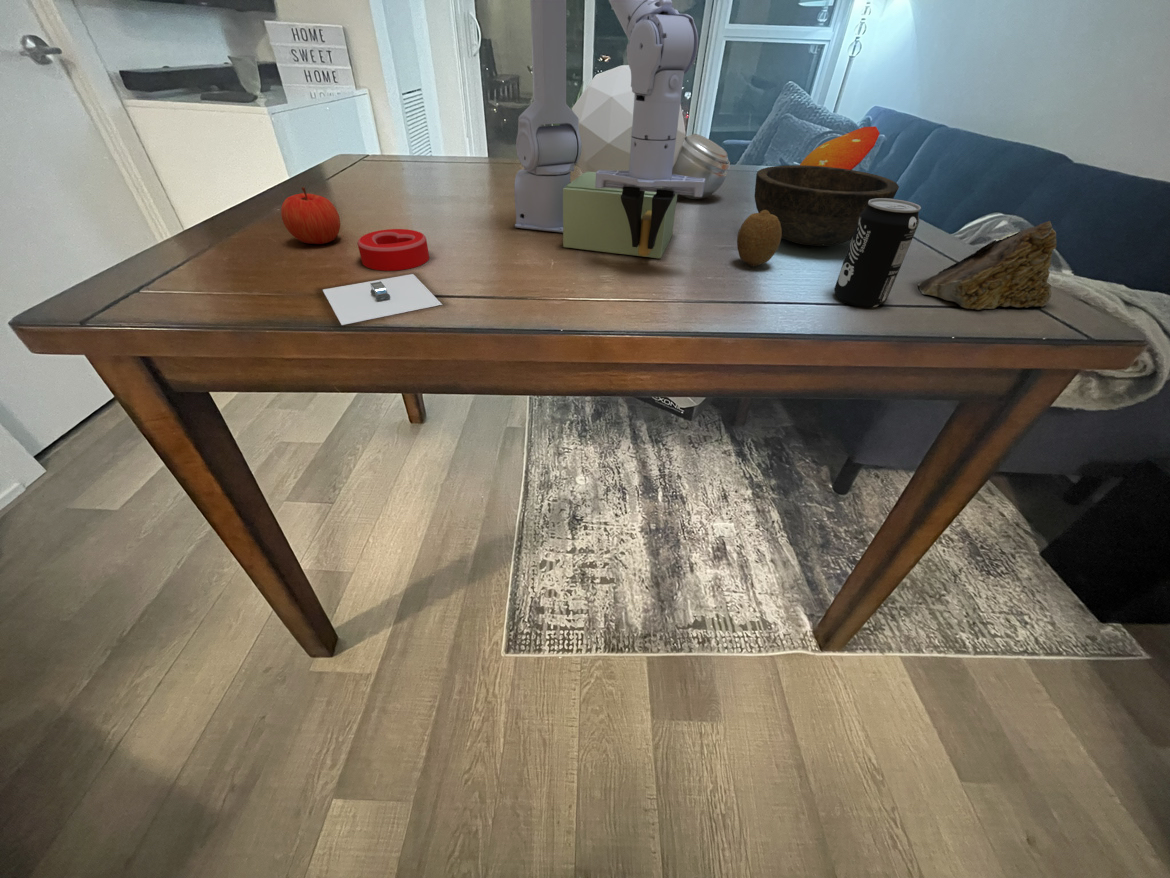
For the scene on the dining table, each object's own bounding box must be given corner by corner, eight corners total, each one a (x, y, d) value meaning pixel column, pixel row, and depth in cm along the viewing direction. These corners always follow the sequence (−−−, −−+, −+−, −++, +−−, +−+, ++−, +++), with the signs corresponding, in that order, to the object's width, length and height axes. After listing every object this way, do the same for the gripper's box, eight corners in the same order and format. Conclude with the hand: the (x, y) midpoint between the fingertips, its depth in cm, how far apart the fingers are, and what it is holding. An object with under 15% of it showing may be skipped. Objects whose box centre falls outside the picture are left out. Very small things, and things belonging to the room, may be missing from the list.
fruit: (723, 261, 78) (734, 206, 73) (756, 256, 80) (768, 203, 75) (748, 274, 74) (762, 217, 69) (782, 269, 76) (797, 213, 71)
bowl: (874, 234, 92) (897, 173, 85) (874, 271, 76) (901, 201, 70) (754, 217, 99) (767, 160, 92) (731, 249, 83) (745, 182, 77)
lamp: (557, 152, 117) (598, 28, 100) (689, 214, 124) (746, 107, 108) (545, 187, 100) (591, 46, 84) (697, 255, 108) (767, 138, 92)
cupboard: (661, 257, 79) (669, 195, 73) (565, 245, 82) (565, 185, 77) (672, 235, 88) (679, 179, 83) (585, 226, 91) (586, 171, 86)
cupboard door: (654, 270, 74) (661, 207, 68) (552, 257, 77) (551, 196, 72) (661, 256, 79) (668, 196, 73) (564, 245, 82) (564, 187, 76)
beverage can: (823, 290, 70) (854, 197, 62) (868, 289, 70) (904, 197, 63) (846, 309, 65) (883, 211, 57) (894, 309, 65) (937, 211, 58)
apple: (282, 241, 80) (264, 186, 75) (331, 231, 85) (317, 179, 80) (304, 253, 76) (286, 196, 71) (354, 242, 81) (340, 188, 76)
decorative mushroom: (834, 197, 114) (858, 120, 105) (866, 222, 98) (898, 134, 89) (768, 194, 115) (786, 117, 106) (789, 218, 99) (812, 130, 89)
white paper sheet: (341, 325, 58) (337, 312, 57) (322, 289, 65) (318, 278, 65) (442, 304, 63) (440, 293, 62) (413, 273, 71) (411, 263, 70)
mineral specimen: (891, 261, 72) (995, 195, 69) (909, 331, 79) (1004, 274, 76) (953, 287, 62) (1078, 212, 59) (967, 364, 69) (1079, 301, 66)
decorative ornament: (354, 270, 71) (348, 248, 69) (372, 248, 79) (367, 227, 77) (422, 270, 72) (418, 248, 70) (434, 249, 79) (430, 228, 77)
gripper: (590, 137, 62) (587, 248, 71) (708, 145, 59) (690, 260, 68) (604, 130, 68) (600, 234, 76) (712, 137, 65) (695, 245, 73)
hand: (643, 246), depth 72 cm, fingers closed on cupboard door, 2 cm apart
